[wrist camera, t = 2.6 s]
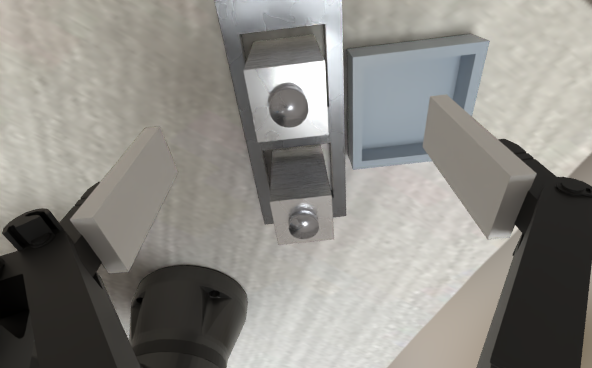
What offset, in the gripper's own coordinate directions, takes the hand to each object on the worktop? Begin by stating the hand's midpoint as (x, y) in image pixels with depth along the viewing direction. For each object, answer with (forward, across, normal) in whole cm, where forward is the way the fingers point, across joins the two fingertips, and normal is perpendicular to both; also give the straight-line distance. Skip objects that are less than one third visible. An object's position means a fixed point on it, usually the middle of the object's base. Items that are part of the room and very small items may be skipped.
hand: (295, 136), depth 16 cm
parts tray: (+13, +10, -4) cm, 17 cm away
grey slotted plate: (+13, 0, -5) cm, 14 cm away
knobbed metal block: (+13, 0, 0) cm, 13 cm away
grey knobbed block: (+13, 0, -10) cm, 16 cm away
